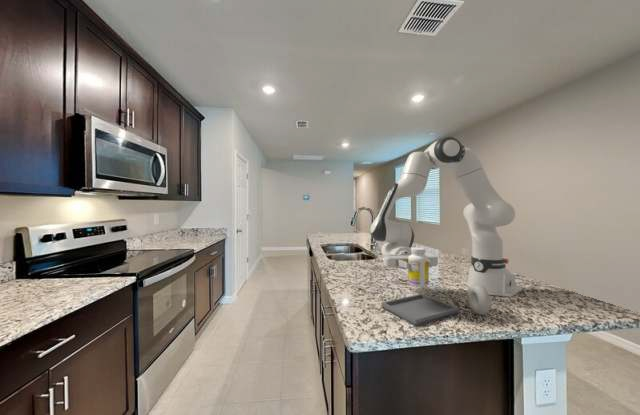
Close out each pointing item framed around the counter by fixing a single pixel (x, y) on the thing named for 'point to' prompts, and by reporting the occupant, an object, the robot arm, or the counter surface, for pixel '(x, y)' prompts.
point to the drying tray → (419, 309)
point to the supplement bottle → (418, 268)
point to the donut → (478, 299)
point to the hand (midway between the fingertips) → (419, 265)
